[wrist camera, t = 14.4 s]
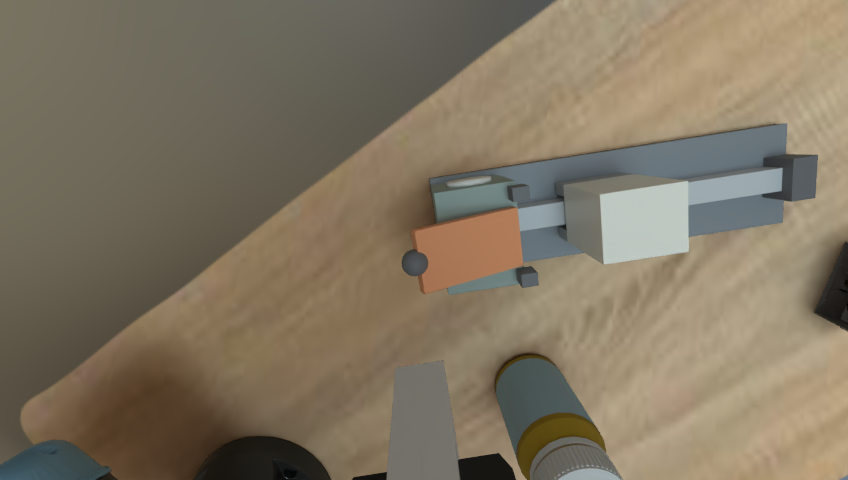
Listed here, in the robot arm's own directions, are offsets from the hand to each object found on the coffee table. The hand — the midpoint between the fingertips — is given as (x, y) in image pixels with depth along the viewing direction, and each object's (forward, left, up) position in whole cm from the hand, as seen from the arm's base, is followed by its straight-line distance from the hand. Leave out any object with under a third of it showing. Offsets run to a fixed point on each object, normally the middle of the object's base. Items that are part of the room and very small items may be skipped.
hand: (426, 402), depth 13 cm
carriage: (+16, 0, -25) cm, 30 cm away
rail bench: (+18, 0, -27) cm, 32 cm away
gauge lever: (+8, 0, -18) cm, 20 cm away
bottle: (+9, -18, -27) cm, 33 cm away
